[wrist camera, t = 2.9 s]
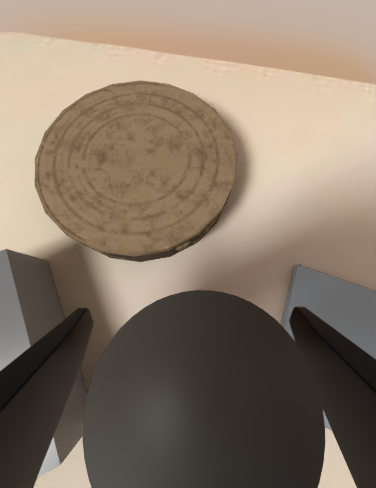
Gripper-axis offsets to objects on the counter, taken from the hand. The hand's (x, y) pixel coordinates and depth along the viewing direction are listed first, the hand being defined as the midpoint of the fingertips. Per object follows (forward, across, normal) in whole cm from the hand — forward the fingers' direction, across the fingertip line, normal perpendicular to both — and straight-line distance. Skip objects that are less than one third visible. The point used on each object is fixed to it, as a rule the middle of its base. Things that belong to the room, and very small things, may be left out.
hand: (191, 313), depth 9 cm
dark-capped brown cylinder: (+4, 0, +6) cm, 7 cm away
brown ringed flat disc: (+14, +4, -3) cm, 14 cm away
